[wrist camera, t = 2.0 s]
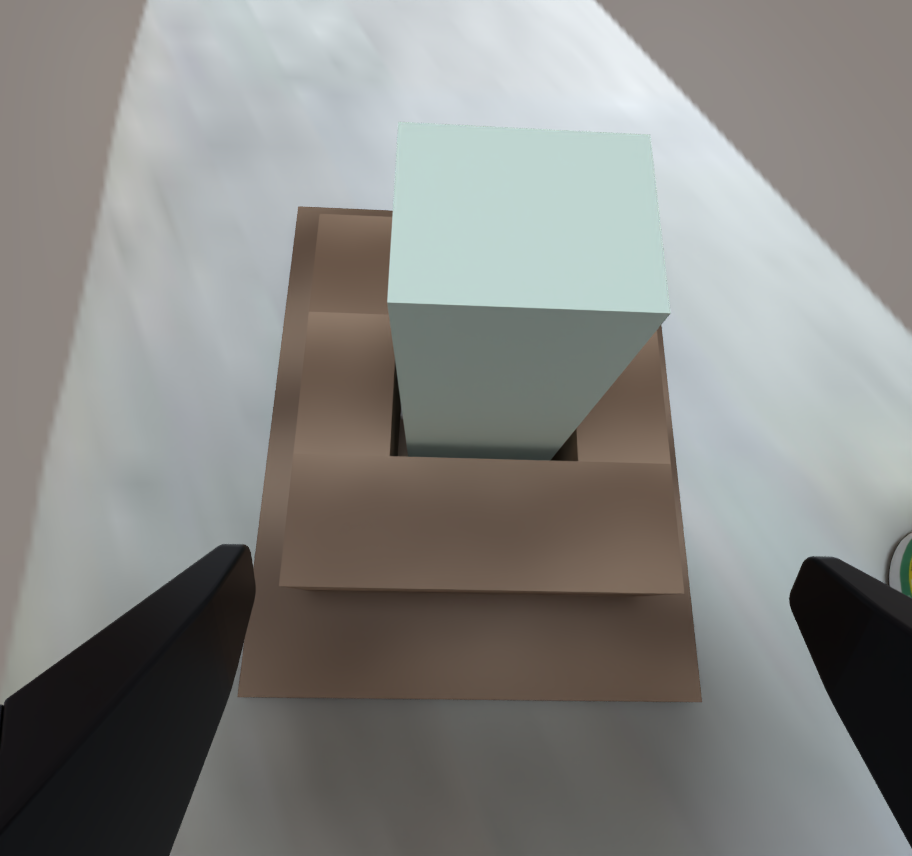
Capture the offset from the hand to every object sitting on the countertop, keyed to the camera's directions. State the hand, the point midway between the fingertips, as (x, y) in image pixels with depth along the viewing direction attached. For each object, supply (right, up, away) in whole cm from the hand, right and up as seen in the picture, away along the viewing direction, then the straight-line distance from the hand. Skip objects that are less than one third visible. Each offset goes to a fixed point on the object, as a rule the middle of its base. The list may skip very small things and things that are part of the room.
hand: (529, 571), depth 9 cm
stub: (0, +2, +13) cm, 13 cm away
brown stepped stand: (0, +2, +14) cm, 14 cm away
